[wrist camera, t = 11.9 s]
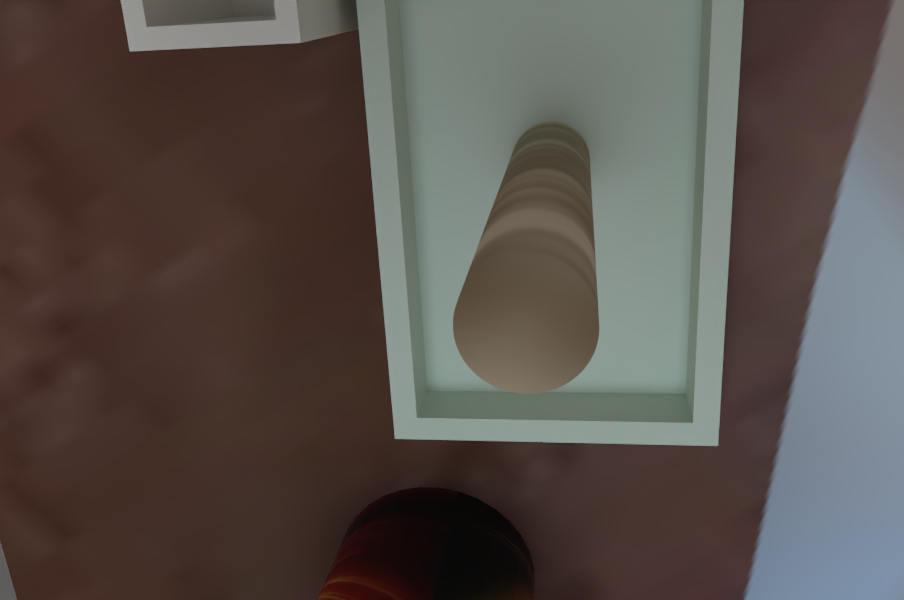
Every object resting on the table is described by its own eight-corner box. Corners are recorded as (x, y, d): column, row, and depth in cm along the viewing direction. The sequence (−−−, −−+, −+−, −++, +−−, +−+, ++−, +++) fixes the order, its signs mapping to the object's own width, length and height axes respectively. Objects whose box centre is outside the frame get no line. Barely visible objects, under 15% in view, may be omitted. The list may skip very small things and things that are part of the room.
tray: (367, -139, 32) (342, -152, 28) (735, -169, 30) (754, -187, 26) (410, 400, 39) (395, 438, 36) (706, 405, 37) (717, 446, 34)
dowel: (511, 123, 33) (448, 259, 17) (589, 120, 33) (600, 258, 17) (513, 199, 34) (456, 393, 18) (589, 198, 34) (599, 394, 18)
